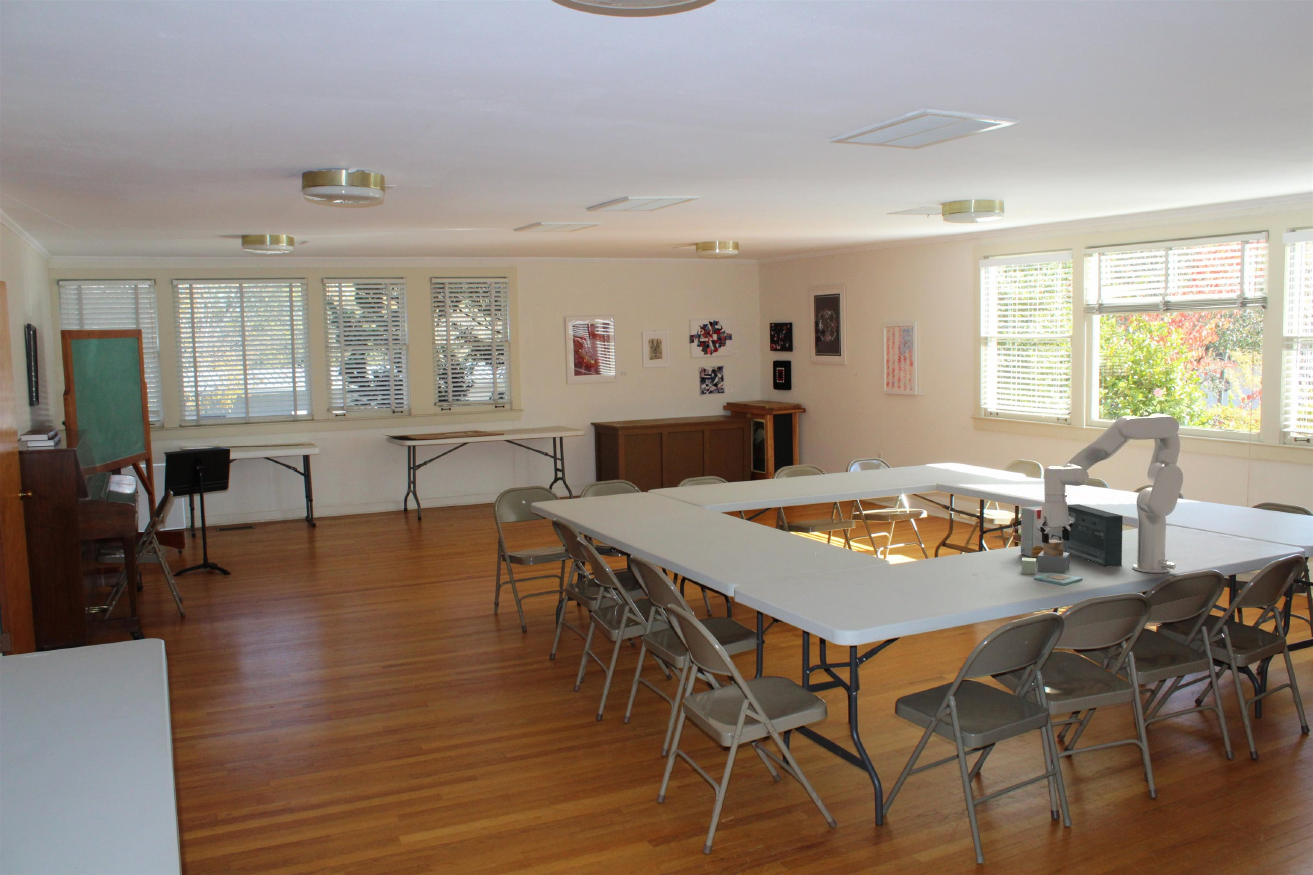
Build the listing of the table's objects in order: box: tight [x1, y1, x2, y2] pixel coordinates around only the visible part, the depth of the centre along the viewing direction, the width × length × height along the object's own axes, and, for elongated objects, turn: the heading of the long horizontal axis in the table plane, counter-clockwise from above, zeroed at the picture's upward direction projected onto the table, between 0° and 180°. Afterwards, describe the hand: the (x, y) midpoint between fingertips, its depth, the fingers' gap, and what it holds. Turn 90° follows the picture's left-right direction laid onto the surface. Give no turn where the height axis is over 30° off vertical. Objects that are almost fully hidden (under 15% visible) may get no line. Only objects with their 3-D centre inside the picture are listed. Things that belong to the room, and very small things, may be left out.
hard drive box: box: [1020, 505, 1063, 558], centre depth 385 cm, size 16×8×20 cm, turn 105°
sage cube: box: [1021, 557, 1037, 575], centre depth 357 cm, size 5×5×5 cm
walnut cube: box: [1044, 540, 1063, 556], centre depth 361 cm, size 5×5×5 cm
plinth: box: [1037, 551, 1071, 573], centre depth 361 cm, size 10×10×6 cm
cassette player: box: [1063, 503, 1124, 568], centre depth 376 cm, size 29×7×20 cm, turn 8°
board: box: [1033, 571, 1083, 586], centre depth 344 cm, size 12×12×1 cm
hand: (1055, 541), depth 361 cm, fingers open, 9 cm apart
